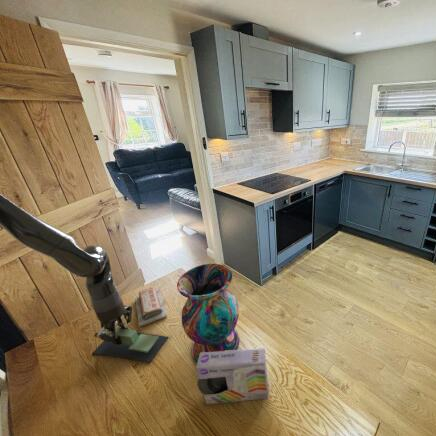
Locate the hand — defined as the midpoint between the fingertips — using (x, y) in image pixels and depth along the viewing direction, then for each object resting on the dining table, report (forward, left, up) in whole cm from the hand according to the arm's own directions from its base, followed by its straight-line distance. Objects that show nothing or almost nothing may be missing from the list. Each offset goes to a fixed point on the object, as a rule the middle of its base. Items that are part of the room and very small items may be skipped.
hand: (122, 339), depth 85 cm
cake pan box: (+46, -10, -3) cm, 47 cm away
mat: (+3, 0, -3) cm, 4 cm away
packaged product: (-2, +17, -3) cm, 17 cm away
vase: (+33, +5, -3) cm, 33 cm away
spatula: (+3, 0, -1) cm, 3 cm away
